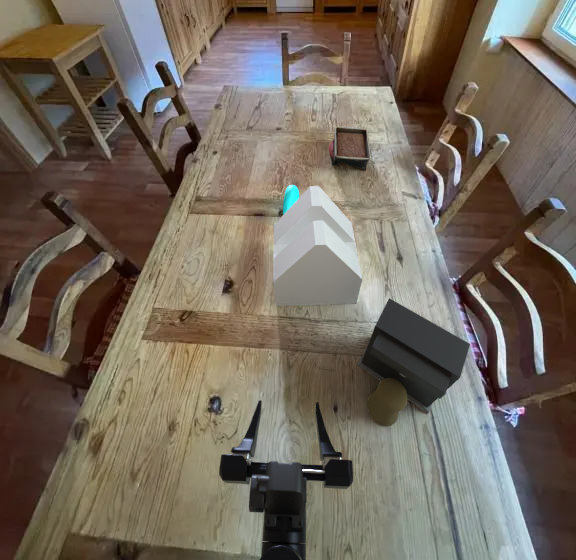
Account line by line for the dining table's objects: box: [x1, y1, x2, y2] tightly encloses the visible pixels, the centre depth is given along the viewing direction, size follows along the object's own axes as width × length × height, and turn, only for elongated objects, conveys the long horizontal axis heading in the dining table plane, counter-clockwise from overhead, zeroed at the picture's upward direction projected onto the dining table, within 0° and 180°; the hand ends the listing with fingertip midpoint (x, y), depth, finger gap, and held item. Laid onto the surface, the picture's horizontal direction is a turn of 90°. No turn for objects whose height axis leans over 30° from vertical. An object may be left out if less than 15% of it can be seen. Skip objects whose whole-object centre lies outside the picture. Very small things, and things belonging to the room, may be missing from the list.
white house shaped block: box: [272, 185, 363, 307], centre depth 78 cm, size 19×15×25 cm
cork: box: [366, 378, 408, 428], centre depth 63 cm, size 6×6×11 cm
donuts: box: [282, 184, 300, 216], centre depth 98 cm, size 10×10×10 cm
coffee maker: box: [357, 297, 471, 414], centre depth 63 cm, size 10×15×20 cm, turn 55°
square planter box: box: [327, 126, 373, 171], centre depth 116 cm, size 14×18×10 cm
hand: (288, 401), depth 56 cm, fingers open, 9 cm apart
